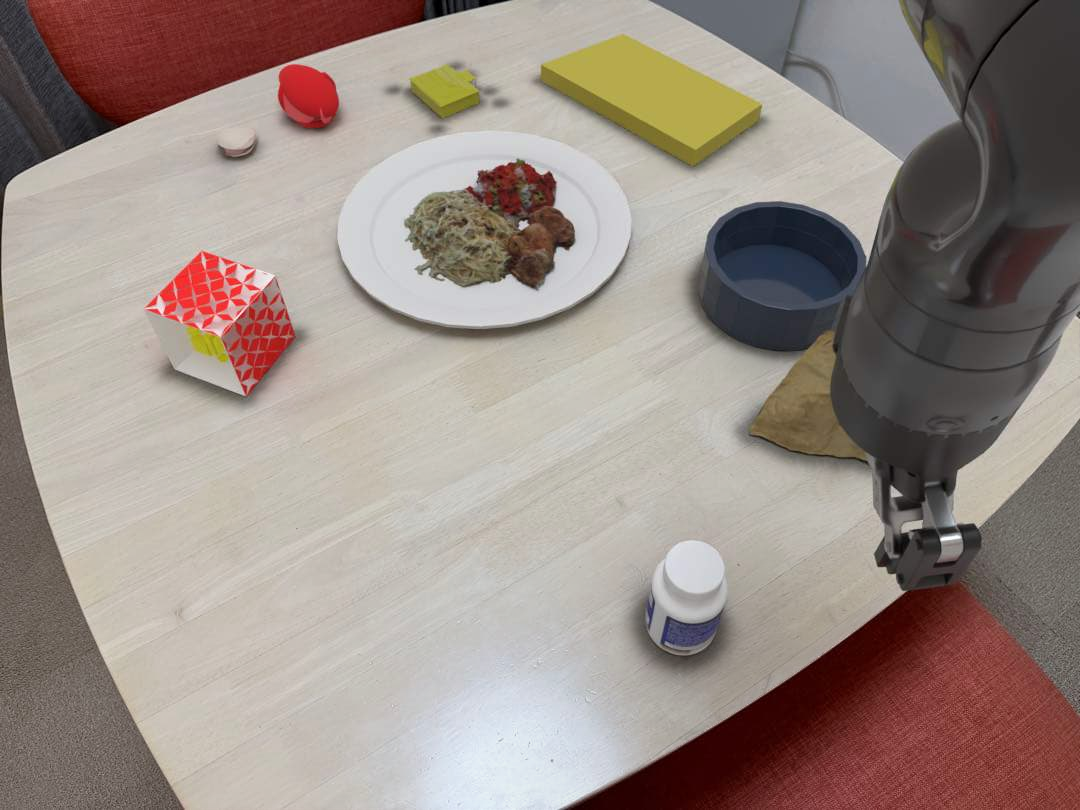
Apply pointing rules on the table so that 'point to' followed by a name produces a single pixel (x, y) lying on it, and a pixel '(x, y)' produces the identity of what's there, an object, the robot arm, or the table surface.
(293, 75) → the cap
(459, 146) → the plated food
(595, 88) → the flat olive board
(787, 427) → the rock
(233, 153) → the macaroon
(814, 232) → the pot
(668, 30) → the table surface
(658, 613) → the pill bottle
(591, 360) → the table surface
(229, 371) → the red patterned cube
